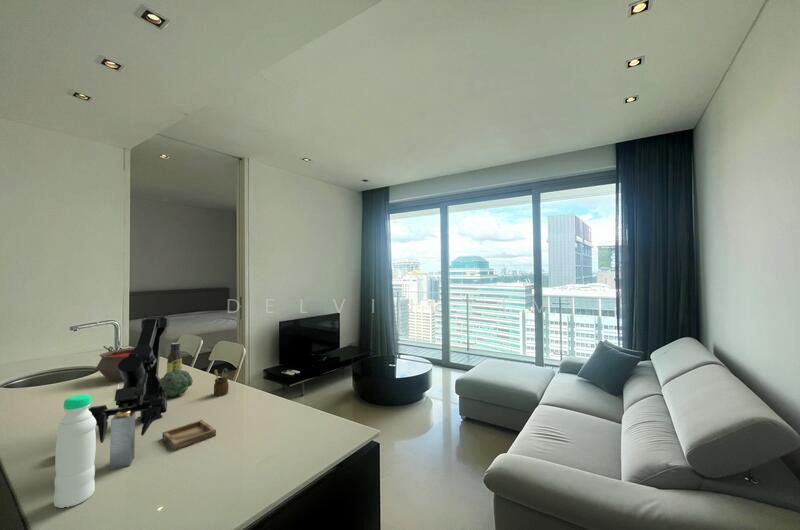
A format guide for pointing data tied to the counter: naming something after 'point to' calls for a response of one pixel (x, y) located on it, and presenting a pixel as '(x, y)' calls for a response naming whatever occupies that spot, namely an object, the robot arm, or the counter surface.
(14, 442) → the counter surface
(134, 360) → the robot arm
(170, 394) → the vegetable
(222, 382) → the utensil holder
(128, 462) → the grey tall block
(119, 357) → the brown pot
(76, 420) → the white milk bottle
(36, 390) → the counter surface
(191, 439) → the tray
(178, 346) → the sauce bottle
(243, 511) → the counter surface
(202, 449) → the counter surface
